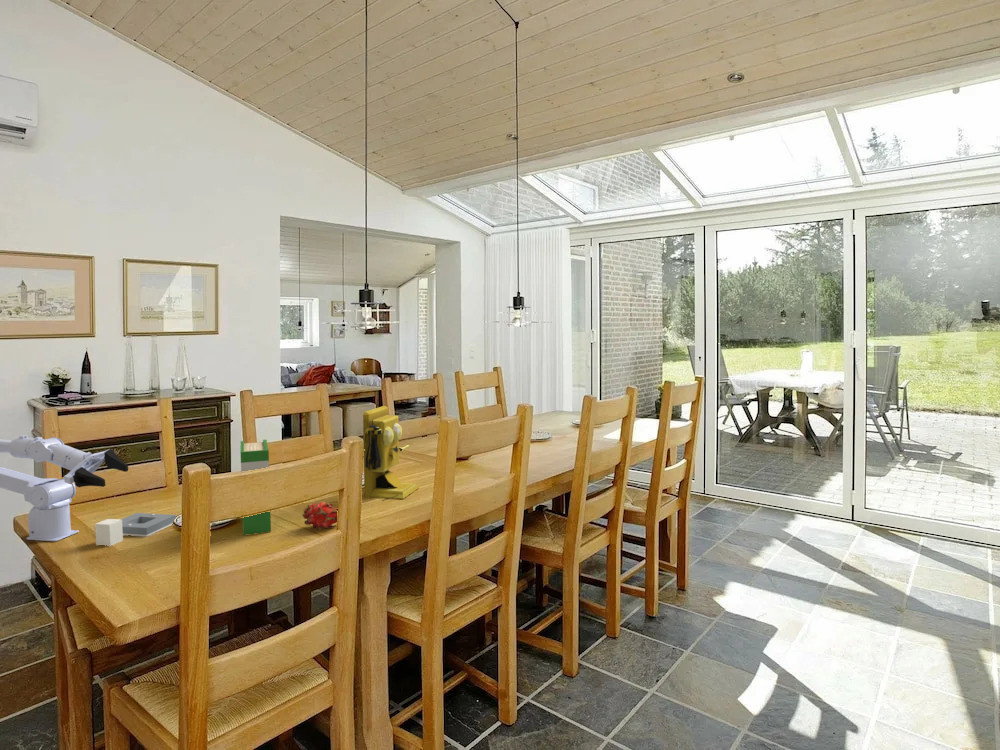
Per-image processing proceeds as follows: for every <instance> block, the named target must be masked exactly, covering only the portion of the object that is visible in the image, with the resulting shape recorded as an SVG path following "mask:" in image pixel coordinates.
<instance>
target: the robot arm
mask: <svg viewBox="0 0 1000 750" xmlns="http://www.w3.org/2000/svg"><path fill="white" fill-rule="evenodd" d="M0 453H9V454H10V455H11V456H12V457H13V458H20V459H30V460H32V459H33V460H34V462H35V463H42V462H46V463H51V464H53V465H56V466H57V467H61V468H64V469H66V470H69V472H68V473H67V474H66V475H63V478H60V479H59V478H56V477H53V478H51V477H49V478H40V477H38V476H35V475H31V474H27V473H24V472H21V471H17V470H14V469H10V468H8V467H3V466H0V489H4V490H7V491H11V492H14V493H17V494H20V495H23V497H24V501H25V502H28V503H30V505H32V506H33V507H32V508H31V509H30V510H29V511H28V515H27V521H28V523H27V524H28V536H27V537H26V540H27V541H28V540H29V541H44V542H45V541H46V542H58V541H60V540H63V539H65V538H67V537H70V536H72V535H75V534H78V533H79V532H80V530H78V529H77V530H76V529H72V526H71V525H72V523H71V509H70V504H71V503H72V499H73V498H74V497H75V496H76V492H77V488H83V487H101V488H102V487H103V488H104V487H106V479H105V478H103V477H101V476H99V475H96V474H94V473H95V472H96V470H98V469H99V467H101V466H102V465H103V463H105V464H106V466H107V467H106V468H107V470H110V469H111V470H112V469H113V470H118V471H121V472H128V471H129V465H128V464H127V463H125V462H124V461H123V460H122V459H121V458H120V457H119V456H118V455H117V453H116V452H115V450H113V449H111V448H110V449H106V450H104V451H100V452H95V453H92V452H90V451H88V452H85V451H83V450H80V449H77V448H74V447H72V446H70V445H66V444H65V443H64V442H63V440H62V439H61V438H58V437H55V436H51V437H49V438H46V439H44V438H43V437H41V436H37V437H29V436H28V435H23V434H22V435H19V436H18V437H16V438H14V439H4V438H0ZM77 532H78V533H77Z"/></svg>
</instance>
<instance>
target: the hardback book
mask: <svg viewBox="0 0 1000 750" xmlns="http://www.w3.org/2000/svg"><path fill="white" fill-rule="evenodd" d="M239 446H240V450H239V451H240V473H241V472H242V471H248V470H255V469H261V468H266V467H269V468H270V456H269V455H270V454H269V452H270V451H269V447H268V441H267V439H263V440H262V441H261V442H246V443H245V442H244V440H240V445H239ZM271 517H272V516H271V511H270V512H265V513H261V514H257V515H253V516H249V517H244V518H243V517H242V536H247V535H246V534H251V535H255V534H254V533H259V534H262V533H261V532H267V533H269V532H268V531H271V532H272V529H271V528H272V527H271V526H272V524H271V522H272V521H271V519H272V518H271Z"/></svg>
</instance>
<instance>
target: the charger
mask: <svg viewBox="0 0 1000 750" xmlns="http://www.w3.org/2000/svg"><path fill="white" fill-rule="evenodd" d="M120 519H121V518H120ZM120 519H118V518H117V519H115V518H106V519H104V520H101V521H99V522H96V523H95V524H94V525H95V526H94V528H95V529H94V530H95V545H96V546H98V545H105V546H104V547H112V546H111V545H113V546H115V545H116V543H117V544H118V542H119V543H121V542H123V541H124V535H123V529H122V520H120ZM114 544H115V545H114ZM106 545H107V546H106Z"/></svg>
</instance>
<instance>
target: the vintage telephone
mask: <svg viewBox="0 0 1000 750" xmlns="http://www.w3.org/2000/svg"><path fill="white" fill-rule="evenodd" d="M399 417H400V416H398V415H389V408H388V406H386V405H382V406H378V407H376V408H372V409H369V410H366V411H363V414H362V418H363V420H362V424H363V430H362V431H363V452H364V456H363V486H364V489H363V491H364V492H363V493H364V494H363V495H364V499H369V498H368V497H370V498H376V497H381V498H380V499H383V500H381V501H382V502H384V501H386V500H389V499H390V498H396V499H395V500H404V499H406V498H407V497H408V496H410V495H411V494H413V493H414V492H415V491H417V490H418V489H419V488H420V486H418V485H417V484H416V483H413V482H412V483H411V482H402V481H401V479H399V477H398V476H397V474H396V473H394V472H393V471H390V469H391V468H393V467H395V466H396V465H399V464H400V452H403V451H405V450H407V449H409V448H410V444H407V445H405V446H404V447H401V446H400V441H399V440H400V439H401V438H402V436H403V435H402V434H403V427H402V426H401V425H400V424H399V421H400V420H399ZM364 449H365V451H364ZM416 489H417V490H416ZM412 492H413V493H412ZM409 494H410V495H409ZM405 497H406V498H405Z"/></svg>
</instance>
